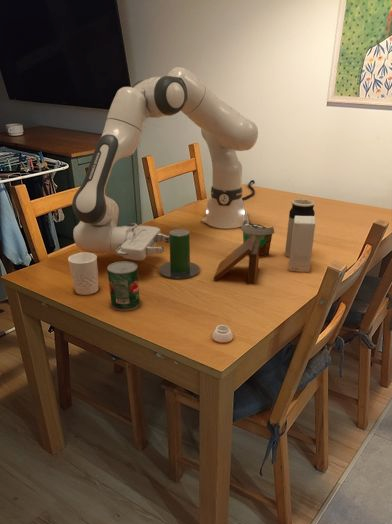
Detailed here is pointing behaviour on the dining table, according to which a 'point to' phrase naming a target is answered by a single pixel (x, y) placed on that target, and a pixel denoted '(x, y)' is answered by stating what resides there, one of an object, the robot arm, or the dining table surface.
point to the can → (179, 250)
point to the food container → (258, 236)
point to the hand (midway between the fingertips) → (167, 244)
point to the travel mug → (298, 209)
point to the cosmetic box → (302, 243)
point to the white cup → (84, 272)
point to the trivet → (166, 272)
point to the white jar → (222, 334)
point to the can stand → (237, 255)
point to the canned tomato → (123, 285)
